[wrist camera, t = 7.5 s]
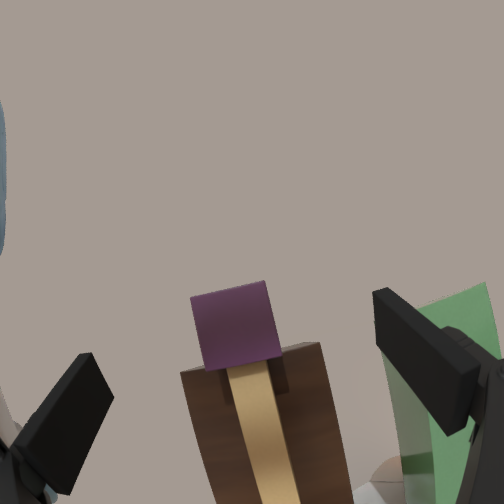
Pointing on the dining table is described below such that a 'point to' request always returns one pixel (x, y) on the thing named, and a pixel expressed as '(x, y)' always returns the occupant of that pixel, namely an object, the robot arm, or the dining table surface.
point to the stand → (293, 421)
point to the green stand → (419, 419)
